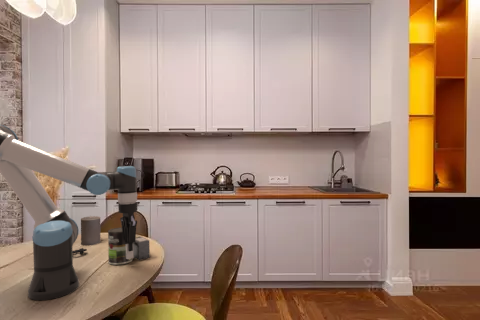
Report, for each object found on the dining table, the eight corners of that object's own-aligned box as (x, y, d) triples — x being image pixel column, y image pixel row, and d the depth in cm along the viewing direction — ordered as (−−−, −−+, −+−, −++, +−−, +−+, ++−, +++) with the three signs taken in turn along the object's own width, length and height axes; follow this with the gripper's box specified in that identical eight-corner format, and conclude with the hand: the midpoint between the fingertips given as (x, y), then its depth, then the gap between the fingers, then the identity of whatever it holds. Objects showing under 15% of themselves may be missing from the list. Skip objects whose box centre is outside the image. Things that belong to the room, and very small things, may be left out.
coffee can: (119, 266, 127) (118, 232, 127) (103, 263, 132) (102, 230, 132) (138, 259, 136) (137, 228, 137) (122, 256, 141) (121, 226, 141)
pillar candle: (76, 244, 161) (76, 216, 161) (90, 239, 170) (90, 213, 170) (91, 246, 158) (91, 218, 158) (104, 241, 167) (104, 214, 167)
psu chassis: (137, 260, 135) (137, 242, 135) (125, 252, 146) (124, 235, 146) (149, 257, 139) (149, 239, 138) (136, 250, 150) (136, 233, 150)
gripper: (142, 203, 125) (144, 259, 125) (130, 200, 134) (132, 252, 135) (124, 205, 120) (126, 264, 120) (113, 202, 129) (115, 256, 130)
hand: (129, 258), depth 127 cm, fingers closed
